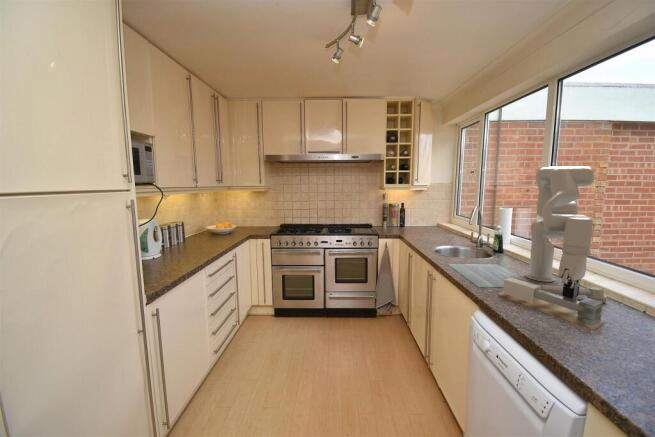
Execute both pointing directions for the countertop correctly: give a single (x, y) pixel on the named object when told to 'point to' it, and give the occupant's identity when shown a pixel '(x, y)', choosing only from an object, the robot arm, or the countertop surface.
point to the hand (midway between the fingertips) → (570, 295)
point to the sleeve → (520, 289)
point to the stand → (569, 311)
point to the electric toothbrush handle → (589, 292)
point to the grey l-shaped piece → (559, 298)
